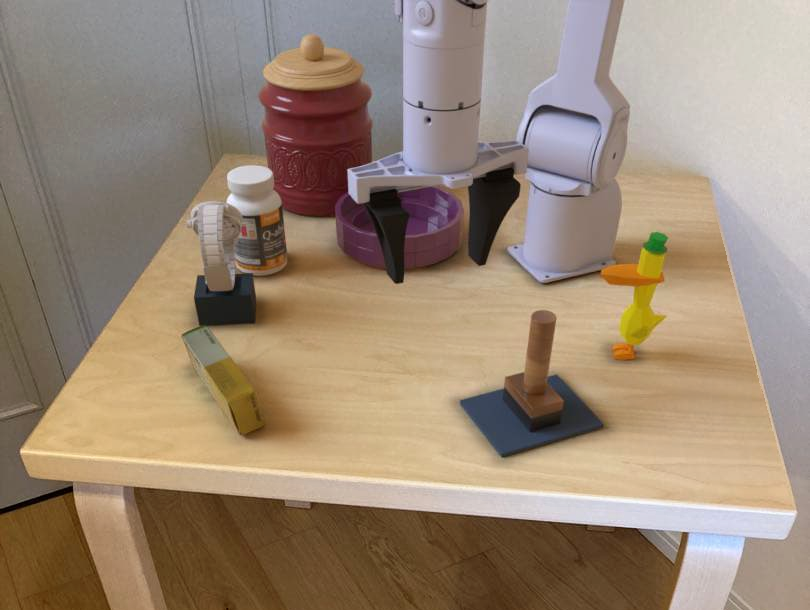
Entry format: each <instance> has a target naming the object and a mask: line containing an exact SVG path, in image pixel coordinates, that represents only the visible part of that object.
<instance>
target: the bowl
mask: <svg viewBox="0 0 810 610" xmlns="http://www.w3.org/2000/svg"><path fill="white" fill-rule="evenodd" d="M398 197H399V198H401V206H402V207H403V208H404V209H405V210H406V211H407V212H408V213H409V214H410V216H409V219H408V223H407V229H406V235H405V243H404V269H413V268H414V269H416V268H420V267H425V266H431V265H434V264H437V263H439V262H442V261H443V260H446V259H448V258H450V257H451V256H452V255H453V254H455V253H456V252H457V251H458V250H459V249H460V247H461V243H462V241H463V236H464V235H463V232H464V217H465V216H464V215H465V209H464V206H463V202H462V200H461V198H459V197H458V196H456V194H455V193H454V192H452V191H450V190H448V189H445V188H444V187H442V186H441V185H436V186H431V187H425V188H420V189H414V190H409V191H403V192H398ZM334 217H335V229H336V230H335V231H336V232H335V233H336V243H337V246H338V248H339V249H340V250H341V251H342V253H343V254H344V255H346V256H348V257H350V258H351V259H353V260H354V261H356V262H359V263H362V264H365V265H368V266H371V267H372V266H373V267H376V268H384V269H386V266H385V261H384V257H383V253H382V249H381V246H380V243H379V240H378V237H377V234H376V232H375V229H374V227H373V225H372V222H371V220H370V218H369V216H368V214H367V212H366V210H365V208H364V206H363V204H362V203H361V204H357V203H356V201H355V200H353V198H352V197H351V196H350V195H349V192H347V193H346V194H344V195H343V196H341V197H340V199H339V200H338V202H337V203H336V205H335V216H334Z"/></svg>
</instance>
